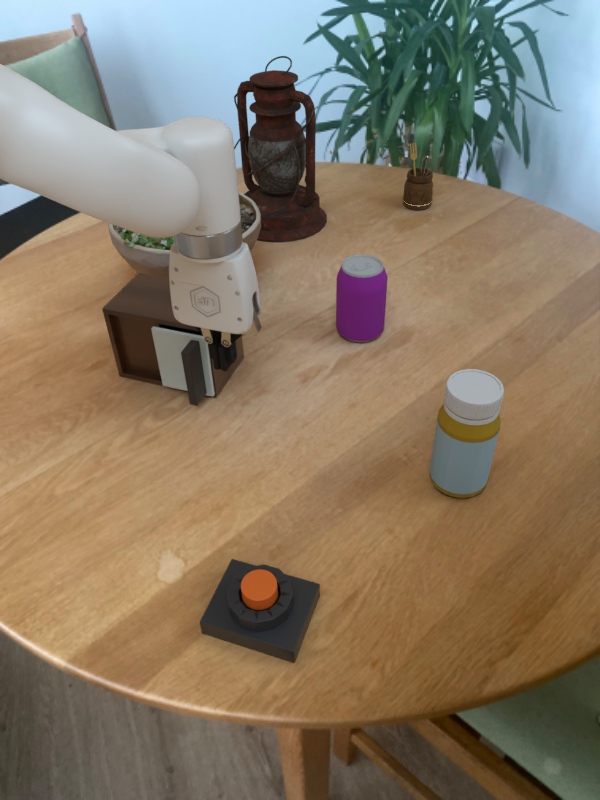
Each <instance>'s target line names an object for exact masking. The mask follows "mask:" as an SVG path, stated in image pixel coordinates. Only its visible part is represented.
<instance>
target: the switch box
mask: <svg viewBox="0 0 600 800" xmlns="http://www.w3.org/2000/svg"><path fill="white" fill-rule="evenodd" d="M258 569H262V570H267V571H269V572H271V573H272V574H273V575H274V576H275V578H276V580H277V587H278V597H277V600H276V602H275V603H274V604H273V605H272V606H271V607H269V608H267V609H264V610H254V609H251V608H249V607H248V606H247V605H246V604H245V603H244V601H243V599H242V592H241V582H242V580H243V578H244V577H245V575H246V574H248V573H249V572H251V571H254V570H258ZM320 586H321V584H320V583H318V582H314V581H311V580H307V579H304V578H301V577H297V576H293V575H290V574H287V573H284V572H283V571H282V570H281V569H280V568H279V567H274V566H272V565H271V566H270V565H268V564H258V565H256V564H251V563H249V562H244V561H241V560H238V559H235V558H231V560H230V561H229V563H228V566H227V567H226V569H225V571H224V573H223V575H222V577H221V579H220V581H219V583H218V585H217V587H216V589H215V591H214V592H213V595H212V597H211V599H210V600H209V603H208V604H207V607H206V608H205V610H204V612H203V614H202V617H200V621H199V625H200V629H201V633H202V634H203V635H206V636H209V637H212V638H215V639H219V640H222V641H224V642H228V643H230V644H234V645H237V646H240V647H243V648H246V649H249V650H253V651H255V652H259V653H262V654H265V655H268V656H270V657H274V658H277V659H280V660H283V661H286V662H290V663H292V664H295V663H296V660H297V657H298V655H299V652H300V650H301V647H302V645H303V643H304V639H305V636H306V634H307V631H308V629H309V626H310V623H311V621H312V618H313V615H314V613H315V610H316V607H317V604H318V602H319V599H320V597H321V587H320Z"/></svg>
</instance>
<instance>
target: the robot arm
mask: <svg viewBox="0 0 600 800" xmlns="http://www.w3.org/2000/svg"><path fill="white" fill-rule="evenodd" d="M234 147H235V142H234V136H233V132H232V130H231V128H230V126H229V125H228V124H227V123H226V122H224V121H222V120H221V119H219V118H216V117H212V116H211V117H210V116H188V117H183V118H180V119H176V120H174V121H172V122H170V123H168V124H167V125H164V126H156V127H145V128H132V129H130V128H129V129H120V130H114V129H113V128H111V127H109V126H107V125H105V124H103V123H101V122H99V121H97V120H95V119H94V118H92V117H90V116H88V115H87V114H84V113H83V112H81V111H79V110H78V109H76V108H75V107H73V106H71V105H70V104H68V103H66V102H65V101H63V100H62V99H59V98H58V97H57V96H55V95H54V94H53V93H51V92H50V91H48V90H46V89H45V88H43V87H42V86H41V85H39V84H37V83H36V82H34V81H32V80H31V79H29V78H28V77H26V76H23V75H22V74H20V73H18V72H17V71H15V70H13V69H11V68H9V67H7V66H6V65H3V64H1V63H0V180H2V181H4V182H6V183H9V184H11V185H13V186H15V187H19V188H21V189H23V190H26V191H29V192H32V193H34V194H37V195H39V196H42V197H44V198H47V199H49V200H51V201H54V202H56V203H58V204H60V205H62V206H65V207H67V208H69V209H71V210H74V211H77V212H79V213H81V214H84V215H86V216H89V217H91V218H94V219H96V220H99V221H101V222H105V223H107V224H108V223H110V224H112V225H115V226H118V227H121V228H124V229H127V230H130V231H133V232H135V233H138V234H141V235H145V236H148V237H153V238H165V237H171V236H174V240H175V243H174V244H173V245H172V246H171V248H170V260H169V282H170V294H171V303H172V309H173V314H174V317H175V318H176V320H177V321H179V322H181V323H183V324H186V325H190V326H194V327H195V328H196V329H197V330H198V331H199V332H200V333H201V334H202V335H203V337H204V340H205V342H206V343H208V344H209V347H210V354H211V359H213V363H214V369H216V370H219V369H221V370H222V371H227V370H228V369H229V367H230V366H231V364H232V363H234V362H235V361H236V359H237V349H236V340H237V339H238V338H240V337H241V336H242V337H243V336H244V337H253V336H254V337H256V336H258V335H259V333H260V332H261V330H262V324H261V321H260V318H259V315H260V314H261V295H260V289H259V288H260V287H259V281H258V277H257V272H256V268H255V264H254V260H253V256H252V252H250V250H249V247H248V245H247V244H246V243H244V242H243V238H242V227H241V216H240V205H239V194H238V192H239V185H238V173H237V162H236V161H237V160H236V152H235V150H236V149H235V150H234Z"/></svg>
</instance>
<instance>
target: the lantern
mask: <svg viewBox="0 0 600 800" xmlns="http://www.w3.org/2000/svg"><path fill="white" fill-rule="evenodd" d="M278 59H288V61H289V62H290V63H289V64H290V65H289V66H288V68H287V70H277V69H276V70H275V69H272V70H268V67H269V66H270V65H271V63H273V62H274V61H276V60H278ZM292 67H293V60H292V59H291V58H290V57H289V56H287V55H280V56H276V57H274V58H272V59H271V60H270V61H269V62H268V63H267V64H266V66H265V69H264V71H261V72H256V73H254V74H252V75H251V76H249V79H248V80H244V81H241V82H240V83H239V86H238V88H237V92H236V94H234V95H233V101H234V105H235V107H236V111H237V121H238V132H239V139H238V140H237V142H236V143H235V144H234V150H236V148H237V146H238V145H239V144H240V157H241V170H242V175H243V181H244V185H245V186H246V188H247V189H248V190H247V191H246V192H245V193H243V194H244V195H245V196H247V197H249V198H250V199H252V200H253V201H254V202H255V204H256V205H257V207H258V208H259V211H260V214H261V229H260V232H259V236H258V239H257V241H260V242H267V243H286V242H288V243H289V242H295V241H299V240H304V239H307V238H309V237H312V236H315V235H316V234H317V233H320V232H321V231H322V230H323V229H324V228H325V226H326V224H327V223H328V220H327V219H328V217H327V216H328V215H327V213H326V212H325V210H324V209H323V208H322V207H321V205H320V201H321V199H320V198H321V197H320V195H319V193H318V192H317V191H316V131H317V129H316V128H317V127H316V126H317V124H316V123H317V118H316V108H315V104H314V101H313V99H312V97H311V96H310V95H308V93H305V92H303V91H301V90H296V87H295V84H296V82H298V81H299V75H298V74H297V73H295V72H292V71H290V70H291V68H292ZM248 93H252V96H253V99H254V102H252V103H251V104H250V105H249V111H250V112H251V113H253V114H255V123H253V125H251V127H250V130H249V122H248V109H247V95H248ZM302 106H303V108H304V112H305V113H304V115H305V123H304V125H303V126H302V125H301V124H300V123H299V122H298V120H297V118H296V117H297V113H296V112H298V111H299V110H301V108H302ZM304 130H305V133H304ZM304 173H305V176H304ZM303 177H304V183H305V185H302V184H300V183H301V181H302V179H303ZM253 178H254V180H255V181H254V180H253ZM255 182H256V183H255Z"/></svg>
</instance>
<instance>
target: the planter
mask: <svg viewBox="0 0 600 800" xmlns="http://www.w3.org/2000/svg"><path fill="white" fill-rule="evenodd" d="M238 194H239V205H240V216H241V227H242V238H243V242H244V243H246V244H247V245H248V247H249V250H250V253H252V251H253V249H254V246H255V245H256V242H257V241H258V240H257V239H258V236H259V232H260V229H261V214H260V211H259V208H258V207H257V205H256V204H255V202H254V201H253V200H252V199H250V198H249V197H247V196H245V195H244V194H245V193H242V192H240V191H238ZM107 227H108V233H109V236H110V240H111V244H112V245H113V247H114V248H115V250H116V251H117V253H118V254H119V255H120V256H121V257H122V258H123V260H124V261H125V262H126V263H127V264H128V265H129V266H130V267H131V268H132V269H133V271H134V272H135V273H136V275H137V274H138V273H141V274H147V275H153V276H159V277H165V278H169V260H170V248H171V246H172V245H173V244H174V243H175V240H174V236H171V237H165V238H153V237H148V236H145V235H141V234H138V233H135V232H133V231H130V230H127V229H124V228H121V227H118V226H115V225H112V224H110V223H107Z"/></svg>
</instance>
